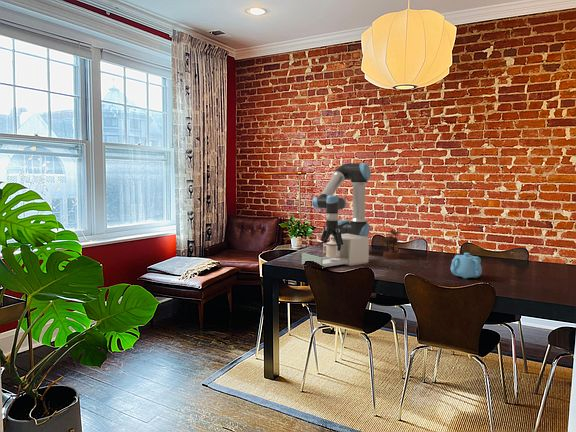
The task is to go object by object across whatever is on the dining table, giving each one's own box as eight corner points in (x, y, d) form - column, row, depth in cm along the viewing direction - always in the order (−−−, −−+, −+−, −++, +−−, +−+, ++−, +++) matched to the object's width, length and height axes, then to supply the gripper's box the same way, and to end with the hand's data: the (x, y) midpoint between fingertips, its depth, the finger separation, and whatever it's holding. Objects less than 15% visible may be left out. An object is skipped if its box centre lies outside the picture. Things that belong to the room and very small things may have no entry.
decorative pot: (484, 276, 246) (485, 252, 245) (478, 281, 233) (479, 256, 232) (454, 272, 255) (455, 249, 254) (447, 277, 242) (448, 253, 241)
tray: (301, 264, 273) (301, 252, 272) (330, 259, 286) (330, 249, 286) (321, 269, 257) (321, 257, 256) (350, 265, 271) (350, 253, 270)
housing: (329, 260, 286) (329, 235, 285) (347, 257, 296) (347, 233, 294) (350, 265, 270) (350, 239, 269) (368, 262, 279) (369, 237, 278)
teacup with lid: (343, 257, 274) (343, 238, 273) (335, 259, 267) (336, 240, 265) (326, 254, 281) (326, 237, 280) (319, 257, 274) (319, 238, 273)
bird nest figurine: (403, 257, 297) (403, 229, 293) (396, 261, 288) (396, 232, 285) (383, 254, 306) (383, 227, 303) (376, 258, 298) (375, 230, 295)
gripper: (315, 218, 279) (315, 251, 281) (340, 222, 260) (339, 257, 262) (324, 217, 283) (323, 250, 285) (349, 221, 264) (348, 256, 266)
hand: (331, 254), depth 274 cm, fingers closed on teacup with lid, 11 cm apart
